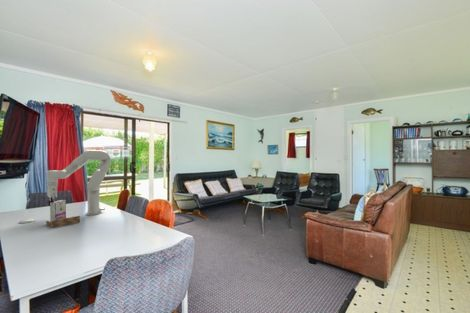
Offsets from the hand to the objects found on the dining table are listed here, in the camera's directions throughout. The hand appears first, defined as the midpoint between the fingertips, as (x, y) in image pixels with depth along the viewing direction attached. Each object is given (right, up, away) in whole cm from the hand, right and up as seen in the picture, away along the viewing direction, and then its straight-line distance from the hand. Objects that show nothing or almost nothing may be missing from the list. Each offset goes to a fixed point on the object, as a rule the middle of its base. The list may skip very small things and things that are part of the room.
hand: (51, 205), depth 200 cm
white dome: (-10, -11, -12) cm, 19 cm away
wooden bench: (+23, -11, -16) cm, 30 cm away
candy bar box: (+13, -11, -9) cm, 19 cm away
